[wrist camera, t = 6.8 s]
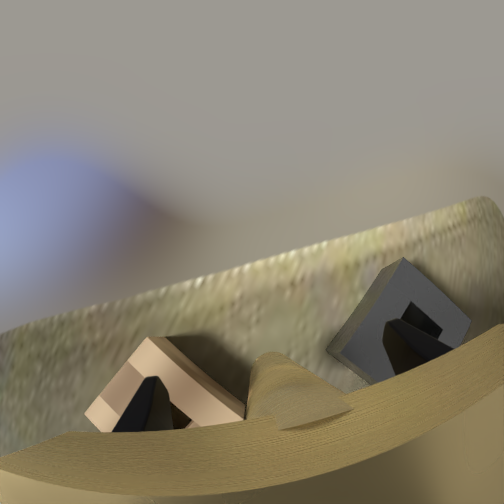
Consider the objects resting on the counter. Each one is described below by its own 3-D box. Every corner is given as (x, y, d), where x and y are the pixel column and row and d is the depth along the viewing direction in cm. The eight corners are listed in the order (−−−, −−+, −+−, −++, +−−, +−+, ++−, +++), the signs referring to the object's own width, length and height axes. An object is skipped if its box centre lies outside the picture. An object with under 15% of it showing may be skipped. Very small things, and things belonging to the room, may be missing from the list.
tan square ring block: (245, 404, 20) (243, 419, 16) (182, 469, 19) (169, 490, 15) (164, 336, 22) (146, 336, 18) (108, 404, 20) (84, 413, 16)
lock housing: (444, 324, 22) (471, 320, 18) (395, 403, 20) (419, 413, 16) (381, 269, 23) (403, 257, 19) (325, 350, 21) (339, 353, 17)
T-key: (336, 334, 16) (582, 301, 2) (345, 374, 15) (580, 438, 1) (197, 366, 16) (-20, 455, 2) (206, 406, 15) (59, 589, 1)
